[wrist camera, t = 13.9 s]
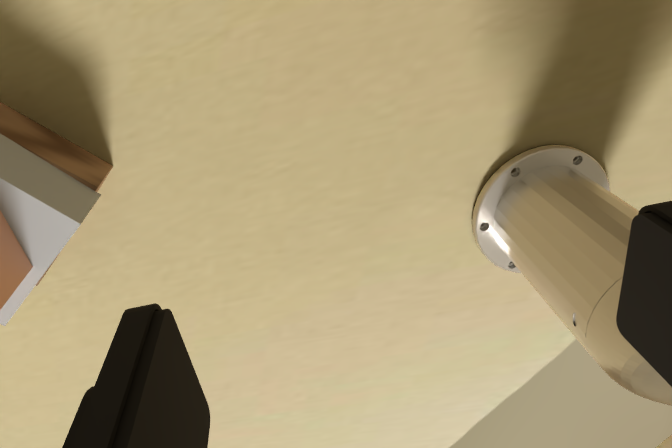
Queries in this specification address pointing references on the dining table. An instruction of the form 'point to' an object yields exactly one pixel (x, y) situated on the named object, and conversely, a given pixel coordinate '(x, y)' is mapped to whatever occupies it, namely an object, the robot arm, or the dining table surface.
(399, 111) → the dining table surface
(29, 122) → the tower base
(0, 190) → the tower top
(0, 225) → the block
